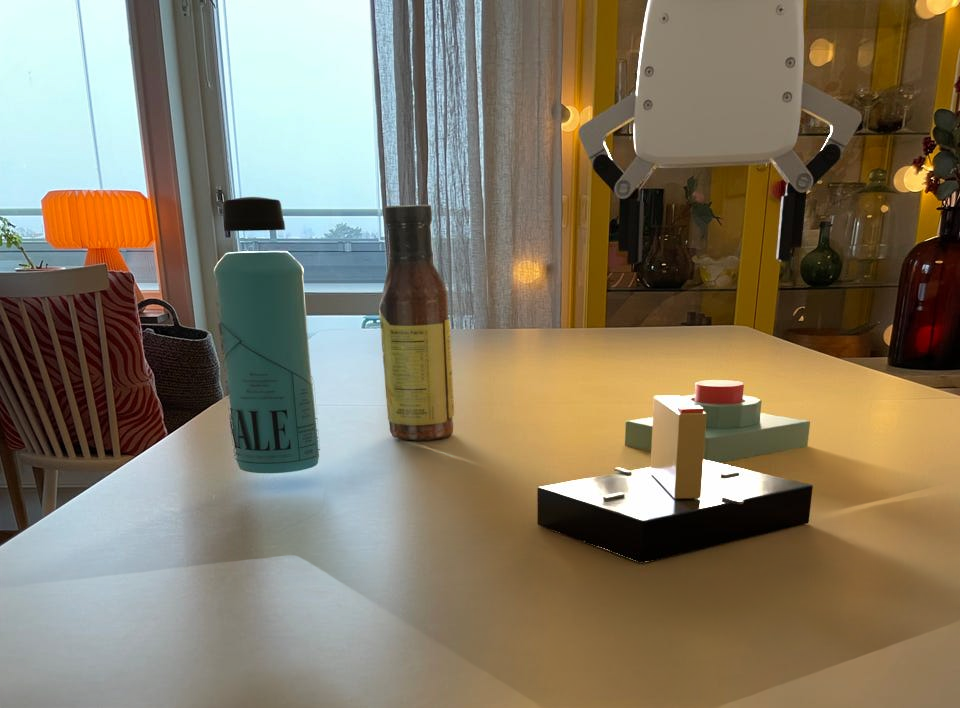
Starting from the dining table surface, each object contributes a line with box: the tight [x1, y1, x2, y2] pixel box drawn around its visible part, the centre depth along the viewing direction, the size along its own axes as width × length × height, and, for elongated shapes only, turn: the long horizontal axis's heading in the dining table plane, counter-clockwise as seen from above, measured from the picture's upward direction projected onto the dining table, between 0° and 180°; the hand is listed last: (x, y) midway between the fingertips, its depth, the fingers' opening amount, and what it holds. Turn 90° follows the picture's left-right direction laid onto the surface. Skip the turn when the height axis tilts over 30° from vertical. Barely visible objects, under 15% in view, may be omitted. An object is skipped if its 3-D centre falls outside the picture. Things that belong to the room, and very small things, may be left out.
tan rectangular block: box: [650, 394, 707, 499], centre depth 60 cm, size 7×2×5 cm, turn 3°
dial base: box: [536, 460, 814, 563], centre depth 61 cm, size 14×11×3 cm
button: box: [694, 379, 745, 404], centre depth 82 cm, size 4×4×2 cm
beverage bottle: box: [213, 196, 321, 474], centre depth 70 cm, size 6×7×20 cm
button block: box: [624, 394, 811, 463], centre depth 83 cm, size 12×10×4 cm
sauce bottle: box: [378, 204, 456, 442], centre depth 87 cm, size 7×6×20 cm
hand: (707, 262), depth 64 cm, fingers open, 9 cm apart
